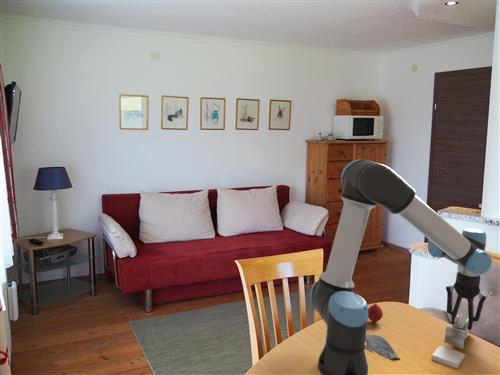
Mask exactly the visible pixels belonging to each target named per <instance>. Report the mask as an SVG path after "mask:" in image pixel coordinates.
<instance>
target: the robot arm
mask: <svg viewBox="0 0 500 375" xmlns="http://www.w3.org/2000/svg"><path fill="white" fill-rule="evenodd" d="M340 181H341V185H342V191H341V196H340V197H341V200H342V201H343V206H342V209H341V213H340V217H339V221H338V225H337V229H336V232H335V236H334V239H333V243H332V247H331V250H330V254H329V259H328V261H327V262H328V263H327V266H326V270H325V271H324V272H322V273H320V274H319V277H318V280H317V281H315V282H314V283H313V285H312V287H311V289H310V292H309V293H310V295H309V297H310V302H311V304H312V307H313V309H314V310H315V312H317V314H318V315H319V316H320V318H321V319H322V320H323V322H324V323H325V325H326V337H325V338H326V339H325V343H324V346H323V349H322V351H321V352H320V354H319V356H318V363H317V367H318V371H319V372H320V374H322V375H368V374H369V373H368V371H369V366H368V361H367V360H368V359H367V356H366V352H365V349H364V346H365V345H366V342H365V337H366V335H367V326H368V320H369V318H368V308H369V306H368V303H367V301H366V299H364V297H363V296H361V295H359V294H356V293H355V292H354V288H355V282H354V281H353V280H352V277H353V274H354V270H355V266H356V264H357V260H358V256H359V252H360V248H361V246H362V241H363V238H364V235H365V231H366V227H367V224H368V220H369V217H370V216H369V215H370V213H371V210H373V209H374V208H376V207H377V205H379V206H380V207H382V208H385V210H387V211H388V212H389V213H391V214H392V215H399V216H400V217H401V218H402V219H404V220H405V221H406V222H407V223H408V224H410V225H411V226H412V227H413V228H414V229H416V230H417V231H419V233H420V234H422V235H423V236H424V237H426V239H428V241H427V251H428V253H429V255H430V256H431V257H432V258H439V259H442V258H444V259H447V260H448V261H450V262H452V263H454V264H456V265H457V268H456V270H457V272H456V275H455V276H456V278H455V283H454V284H451V285H450V284H448V285H446V287H445V289H446V293H447V295H446V296H447V298H446V313H447V314H450V315H451V321H450V324H451V325H453V324H454V323H455V322H456V321H457V320H458V318H459V317H460V315H458V313H459V308H460V306H461V303H462V299H465V300H467V310H468V311H467V312H468V319H467V320H466V325H465V331H466V333H465V339H464V340H466V339H467V337H468V335H469V332H468V330H469V331H471V330H472V329H473V326H474V325H473V324H474V322H479V320H480V318H481V315H482V310H483V307H484V303H485V301H486V300H487V298H488V295H487V294H486V293H485V294H484V293H483V292H482V291H481V289H480V284H481V278H482V276H481V275H483V274H487V272H488V271H489V270H490V269H491V266H492V262H493V261H492V260H493V259H492V256H491V255H490V254H489V253H488V252H486V251H485V250H486V246H487V233H486V232H485V231H483V230H481V229H478V228H471V227H469V228H468V227H467V228H464V229H462V233H460V231H458V230H457V229H456V228H455V227H453V226H452V225H451V224H450V223H449V222H448V221H447V220H446V219H444V218H443V217H442V216H441V215H440V214H438V212H436V211H435V210H434V209H432V207H430V206H429V205H428V204H427V203H426V202H424V201H423V200H422V199H421V198H420V197H419V196H417V195H416V190H415V188H413V187H412V186H411V184H409V183H408V182H407V181H406V180H405V179H403V178H402V177H401V176H400V175H399V174H397V172H395V170H393V169H392V168H391V167H389V166H388V165H385V164H382V163H379V162H374V161H371V160H369V159H355V160H352V161H350V162H348V163H347V165H345V166H344V168H343V169H342V171H341V174H340ZM454 290H455V292H456V295H457V296H456V300H455V303H454V306H453V300H454V298H453V297H454V296H453V295H454ZM477 296H478V299H479V301H478V305H477V308H476V312H475V310H474V306H475V305H474V299H475V298H476V297H477ZM474 313H475V315H474Z"/></svg>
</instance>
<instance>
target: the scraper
mask: <svg viewBox="0 0 500 375" xmlns="http://www.w3.org/2000/svg"><path fill="white" fill-rule="evenodd" d="M467 319H468V311H465V310H464V311H463V312H462V313H461V315H459V318H458V320H457V321H456V322H455V323H454V324H452V326H451V325H446V326H445V334H444V339H443V340H444V341H443V342H444V343H445V344H448V345H450V346H453V347H456V348H460V349H462V350H463V349H464V345H465V340H466V339H465V333H466V331H465V325H466V320H467ZM469 332H470V330H468V333H469Z"/></svg>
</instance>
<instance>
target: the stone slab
mask: <svg viewBox="0 0 500 375" xmlns="http://www.w3.org/2000/svg"><path fill="white" fill-rule="evenodd" d="M365 350H366V351H368V352H369V353H372V354H374V353H376V354H378V355H379V356H381V357H383V358H385V359H386V360H390V361H391V360H393V359H395V358H396V359H397V360H401V358H400V357H399V356H398V355H397V353H396V352H395V350H394V349H393V347H392V346H391V345H390V343H389V342H388V340H387V339H386V338H384V337H383V336H381V335H378V334H367V333H366V337H365V346H364V351H365ZM374 359H375V360H376V359H377V358H374Z"/></svg>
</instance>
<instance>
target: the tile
mask: <svg viewBox="0 0 500 375" xmlns="http://www.w3.org/2000/svg"><path fill="white" fill-rule="evenodd" d="M465 355H466V353H463V352H461V351H458V350H455V349H451V348H449V347H446V346H443V345H439V346H437V348H436V349H435V351H434V352H433V353H432V354H431V360H432V361H436V362H438V363H440V364H444V365H446V366H449V367H452V368H455V369H458V368H459V366H460V365H461V363H462V362H463V360H464V358H465Z"/></svg>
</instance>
